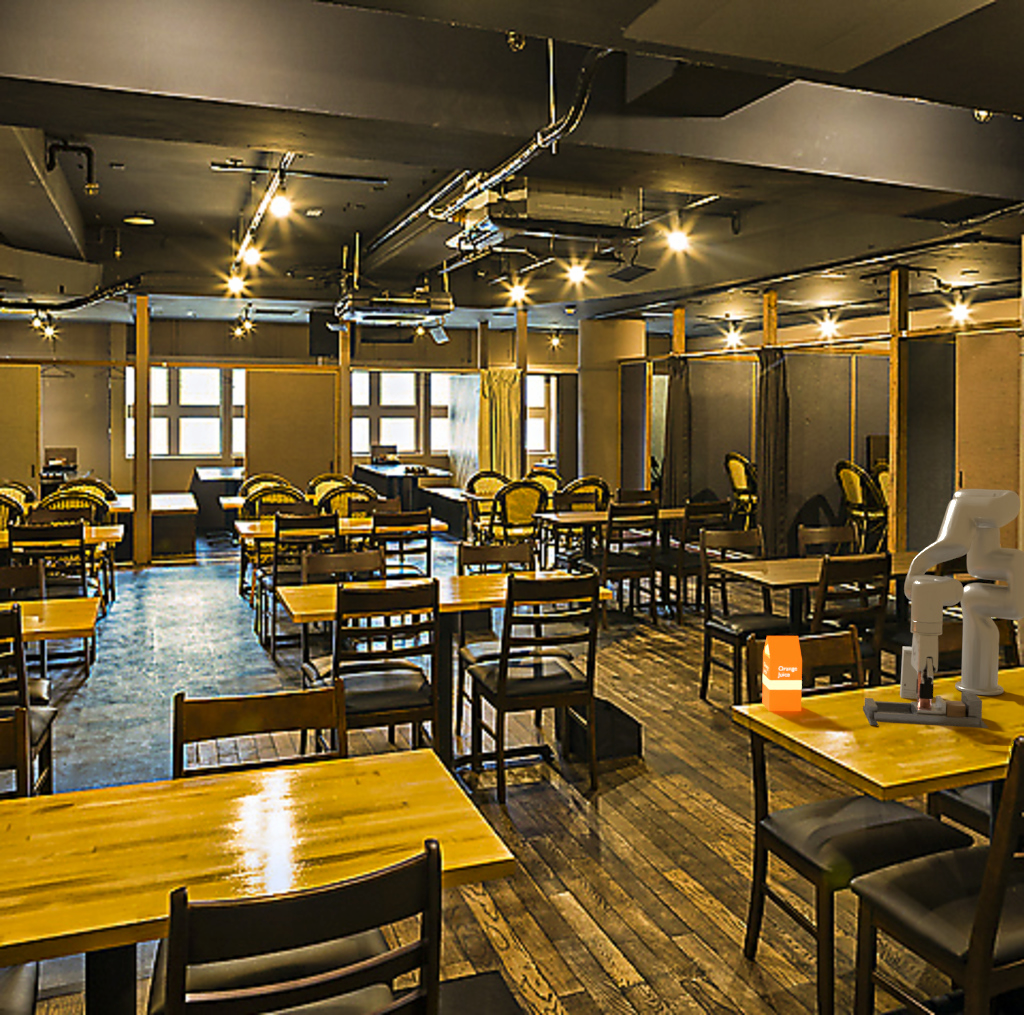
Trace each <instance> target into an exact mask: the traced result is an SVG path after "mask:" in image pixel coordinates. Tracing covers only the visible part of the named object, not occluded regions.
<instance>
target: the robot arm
mask: <svg viewBox="0 0 1024 1015" xmlns="http://www.w3.org/2000/svg"><path fill="white" fill-rule="evenodd" d="M1020 510H1021V499H1020V496H1019V495H1018V493H1017V492H1015V491H1014V490H1009V489H987V488H986V489H985V488H965V489H959V490H957V491H955V492H954V493H953V496H952V499H951V500H950V501H949V502H948V504H947V506H946V510H945V513H944V516H943V519H942V522H941V525H940V529H939V531H938V535H937V538H936V540H935V541H934V542H932V543H930V544H928V546H927V547H924V549H922V550H921V551H920V552H919V553H918V554H917V555H916V556H915V557H914V558H913V560H912V561H911V563H910V565H909V568H908V571H907V575H906V576H905V581H904V587H903V590H904V591H903V593H904V595H905V596H906V599H908V600H909V601H911V602H910V603H911V607H910V609H911V610H910V613H911V614H910V633H911V634H912V642H911V643H912V645H911V647H912V655H911V665H912V666H913V667H914V669H915V670H916V671H917V684H916V693H917V694H918V672H920V671H921V683H920V698H921V699H932V700H933V699H934V674H935V673H937V672H938V668H939V636H941V635H943V620H944V619H943V614H944V612H943V611H944V608H943V607H946V606H947V607H952V606H955V605H956V604H958V603H960V606H961V612H962V614H961V615H962V649H961V680H960V681H957V682H955V688H956V689H957V690H958V691H961V692H970V693H975V694H976V695H977V696H979V695H980V696H998V695H1001V694H1004V687H1003V686H1001V685H1000V684H998V682H999V655H1000V653H999V650H1000V631H999V628H998V626H997V624H996V623H995V621H994V620H993V618H996V619H1004V620H1013V621H1019V620H1022V619H1024V551H1023V550H1022V549H1018V548H1010V547H1002V546H1001V531H1000V528H1002V527H1005V526H1006V525H1008V524H1009V523H1010V522H1012V521H1014V520H1015V519H1016V518H1017V517H1018V515H1019V513H1020ZM965 555H966V569H967V573H968V574H969V576H971V577H973V578H976V579H981V580H988V581H989V580H990V581H1000V582H1005V583H1007V585H1002V584H1001V585H1000V584H994V583H986V582H985V583H983V582H972V583H967V584H966V585H965V586H964V585H963V584H962V582H961V581H959V579H956V578H954V577H948V576H940V575H939V576H938V575H934V574H933V575H931V574H925V573H926V572H927V571H928V570H929V569H931V568H932V567H934V566H936V565H939V564H941V563H943V562H947V561H951V560H953V559H954V560H955V559H956V558H961V557H963V556H965ZM963 586H964V587H963ZM924 669H926V670H927V672H925V671H924ZM924 674H927V675H925V676H924Z"/></svg>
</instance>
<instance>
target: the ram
mask: <svg viewBox="0 0 1024 1015" xmlns="http://www.w3.org/2000/svg"><path fill="white" fill-rule="evenodd" d="M924 671H925V672H927V670H926V669H924ZM925 675H927V674H924V676H925ZM920 683H921V671H920V672H918V697H917V699H916V701H911V702H910V703H911V711H912V713H913V714H922V715H939V716H946V702H945V701H944V699H943V698H942V696H941V695H936V696H935V702H932V701H933V699H921V698H920Z"/></svg>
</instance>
